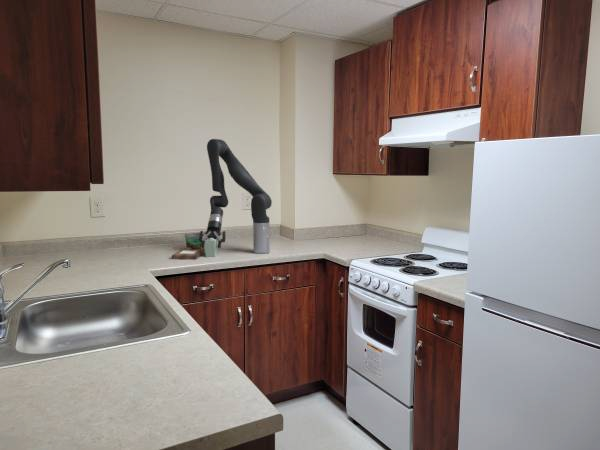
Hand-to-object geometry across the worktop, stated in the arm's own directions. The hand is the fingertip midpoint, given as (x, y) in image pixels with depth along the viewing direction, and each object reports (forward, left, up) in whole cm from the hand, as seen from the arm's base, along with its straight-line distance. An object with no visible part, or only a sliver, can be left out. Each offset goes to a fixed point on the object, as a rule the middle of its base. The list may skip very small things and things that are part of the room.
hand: (210, 247), depth 244 cm
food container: (+13, -19, -5) cm, 24 cm away
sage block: (0, -1, -5) cm, 5 cm away
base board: (+12, -1, -5) cm, 13 cm away
